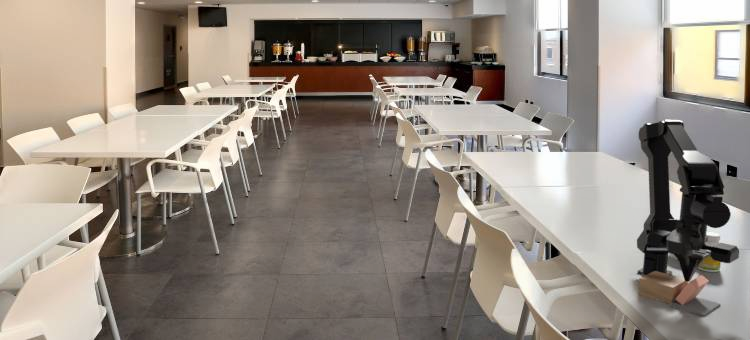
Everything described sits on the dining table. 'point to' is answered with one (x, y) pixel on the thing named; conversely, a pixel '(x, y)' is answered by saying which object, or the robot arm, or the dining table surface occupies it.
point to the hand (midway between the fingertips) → (687, 281)
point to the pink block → (692, 290)
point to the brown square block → (661, 286)
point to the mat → (697, 306)
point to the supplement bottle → (709, 263)
